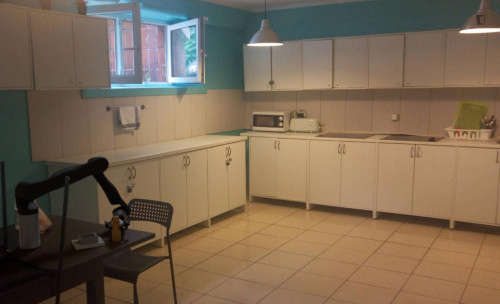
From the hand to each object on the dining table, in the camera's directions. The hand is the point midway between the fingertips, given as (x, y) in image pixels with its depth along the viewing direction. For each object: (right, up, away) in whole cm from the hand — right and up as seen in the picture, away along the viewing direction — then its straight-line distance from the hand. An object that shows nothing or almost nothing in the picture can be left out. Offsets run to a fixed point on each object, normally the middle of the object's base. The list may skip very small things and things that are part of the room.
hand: (115, 228), depth 243 cm
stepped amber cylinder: (-1, -7, +4) cm, 8 cm away
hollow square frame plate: (-13, -8, -2) cm, 16 cm away
